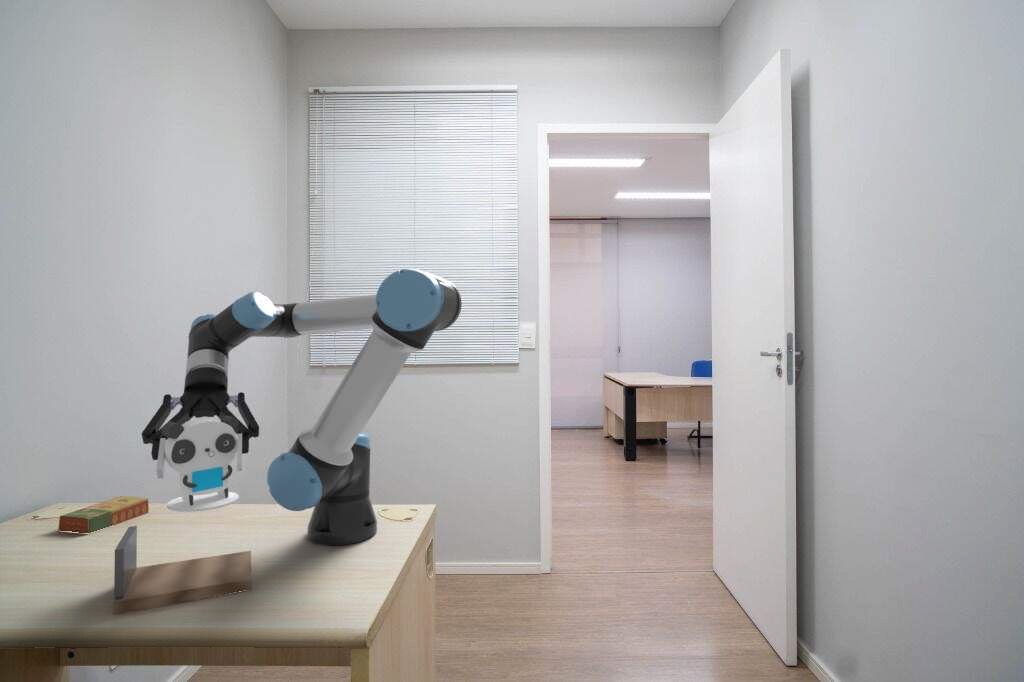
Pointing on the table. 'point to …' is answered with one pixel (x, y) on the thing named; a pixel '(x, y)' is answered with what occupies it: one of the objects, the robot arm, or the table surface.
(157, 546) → the table surface
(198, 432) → the panda figurine
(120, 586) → the bookend
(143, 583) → the shelf board
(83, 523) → the carton
